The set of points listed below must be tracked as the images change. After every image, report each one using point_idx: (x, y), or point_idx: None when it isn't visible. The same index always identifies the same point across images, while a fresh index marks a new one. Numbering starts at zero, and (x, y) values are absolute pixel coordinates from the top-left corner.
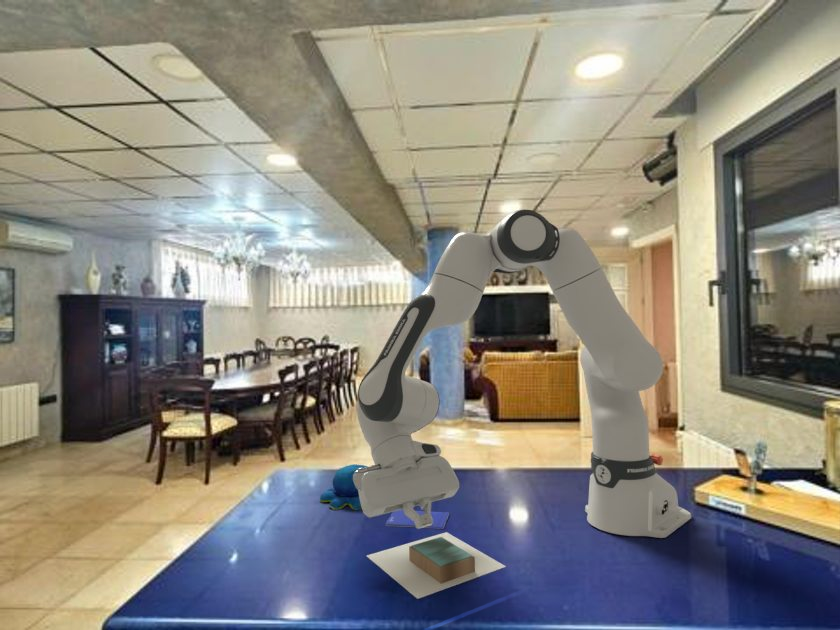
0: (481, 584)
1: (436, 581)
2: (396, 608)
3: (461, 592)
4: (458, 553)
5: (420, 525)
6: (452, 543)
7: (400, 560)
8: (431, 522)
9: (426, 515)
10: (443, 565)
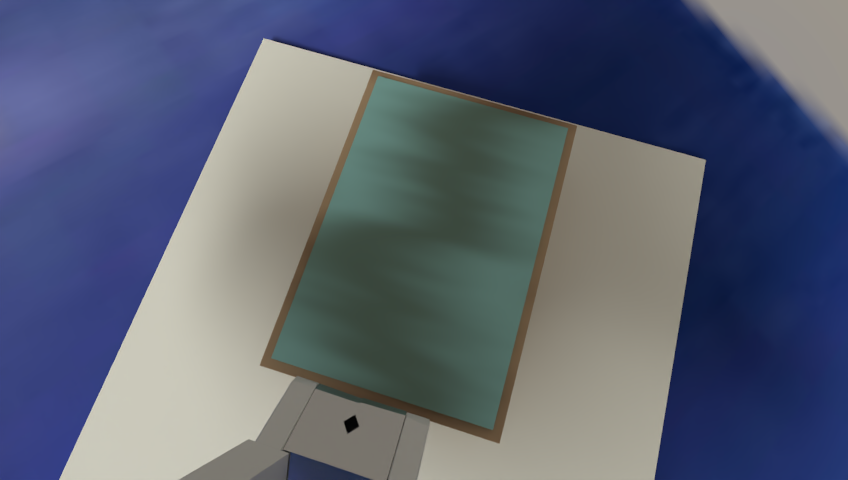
0: (433, 55)
1: None
2: (792, 195)
3: (531, 79)
4: (402, 138)
5: (425, 419)
6: (175, 372)
7: (518, 473)
8: (315, 384)
9: (313, 442)
10: (552, 125)
